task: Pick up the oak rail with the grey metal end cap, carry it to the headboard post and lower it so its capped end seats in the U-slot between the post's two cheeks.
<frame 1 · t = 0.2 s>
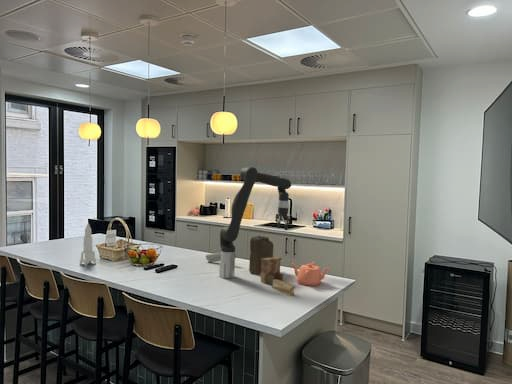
hand: (282, 229, 271), 29 cm above the countertop, fingers open, 8 cm apart
rail: (283, 291, 221), on the countertop
pot: (309, 283, 240), on the countertop
gun: (220, 264, 281), on the countertop
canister: (260, 271, 263), on the countertop
sculpture: (87, 264, 267), on the countertop
headboard: (270, 281, 240), on the countertop
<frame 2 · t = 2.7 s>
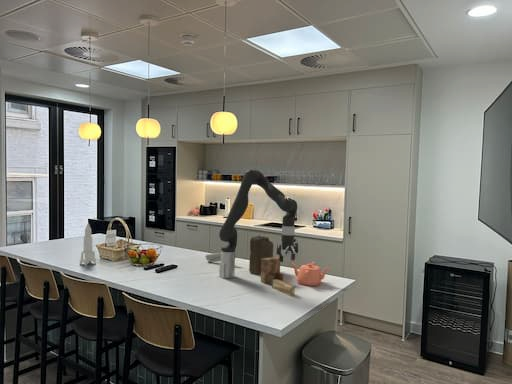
hand: (287, 261, 218), 18 cm above the countertop, fingers open, 8 cm apart
nothing on the countertop moved.
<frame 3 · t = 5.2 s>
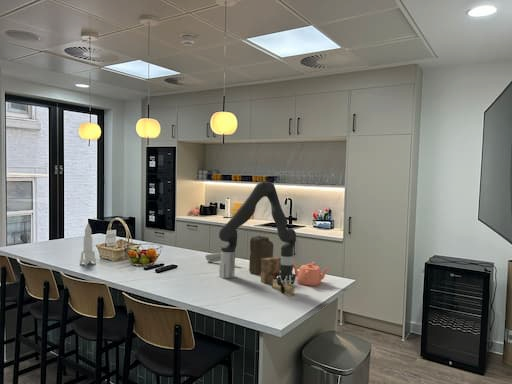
hand: (285, 292, 219), 0 cm above the countertop, fingers closed on rail, 3 cm apart
rail: (283, 291, 221), on the countertop, touching gripper
everything else where it was.
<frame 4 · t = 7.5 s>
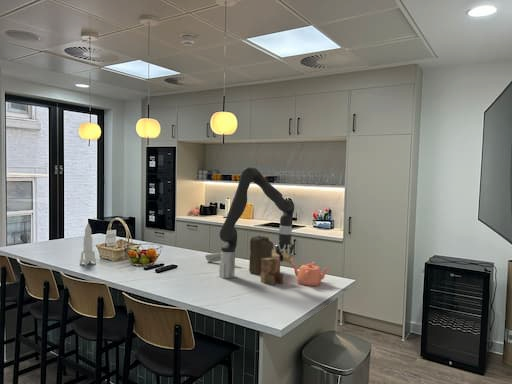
hand: (283, 260, 227), 17 cm above the countertop, fingers closed on rail, 3 cm apart
rail: (281, 260, 228), point 16 cm above the countertop, touching gripper
everything else where it was.
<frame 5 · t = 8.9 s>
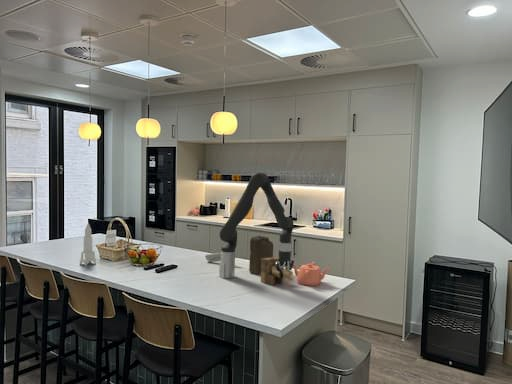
hand: (284, 277, 228), 6 cm above the countertop, fingers closed on rail, 3 cm apart
rail: (281, 277, 230), point 6 cm above the countertop, touching gripper
everything else where it was.
when the fingers open (2 cm above the countertop, at t = 9.9 s): rail drops 1 cm, on the countertop.
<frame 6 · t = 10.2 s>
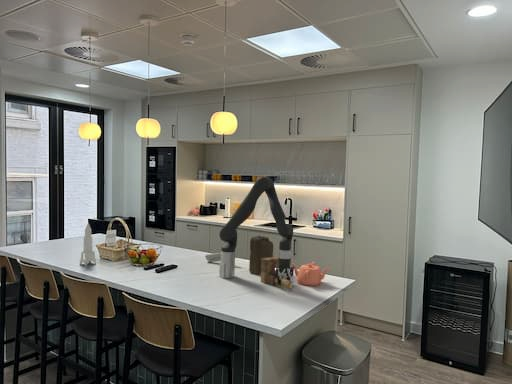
hand: (283, 283, 228), 2 cm above the countertop, fingers open, 6 cm apart
rail: (281, 286, 230), on the countertop
everything else where it was.
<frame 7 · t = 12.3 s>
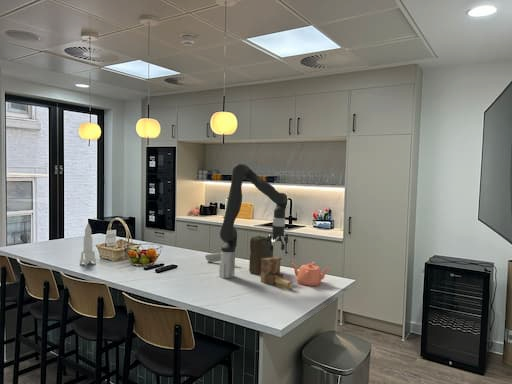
hand: (277, 250, 234), 21 cm above the countertop, fingers open, 8 cm apart
nothing on the countertop moved.
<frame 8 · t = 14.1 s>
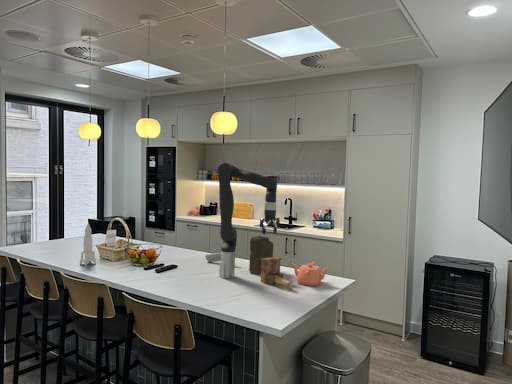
hand: (269, 233, 242), 30 cm above the countertop, fingers open, 8 cm apart
nothing on the countertop moved.
at the end: rail 0.2 cm from the target spot on the countertop beside the headboard, on the countertop; rail tilted 0°; the gripper is holding nothing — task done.
